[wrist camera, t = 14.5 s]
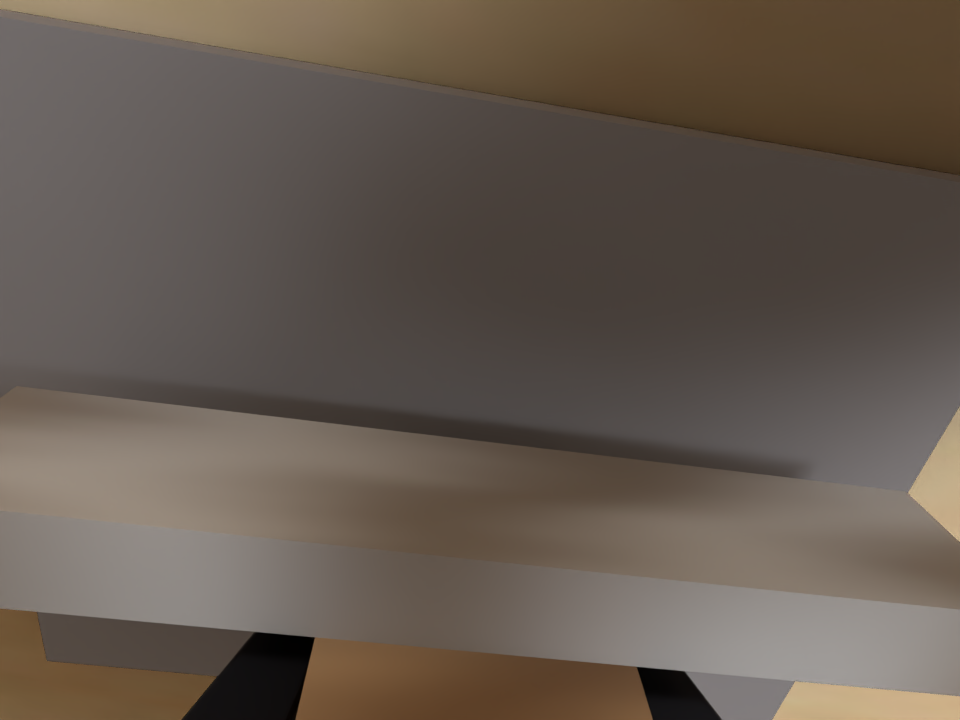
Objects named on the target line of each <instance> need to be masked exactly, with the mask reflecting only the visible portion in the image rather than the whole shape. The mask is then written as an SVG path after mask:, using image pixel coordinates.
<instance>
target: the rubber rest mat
mask: <svg viewBox="0 0 960 720" xmlns="http://www.w3.org/2000/svg"><path fill="white" fill-rule="evenodd" d="M16 386H21V387H29V388H37V389H46V390H54V391H63V392H71V393H80V394H88V395H96V396H105V397H113V398H122V399H130V400H139V401H147V402H155V403H164V404H172V405H181V406H189V407H198V408H206V409H215V410H223V411H231V412H240V413H248V414H257V415H265V416H274V417H282V418H290V419H299V420H307V421H316V422H324V423H333V424H341V425H349V426H358V427H366V428H375V429H383V430H392V431H400V432H409V433H417V434H425V435H434V436H442V437H451V438H459V439H468V440H476V441H484V442H493V443H501V444H510V445H518V446H527V447H535V448H543V449H552V450H560V451H569V452H577V453H586V454H594V455H603V456H611V457H619V458H628V459H636V460H645V461H653V462H662V463H670V464H678V465H687V466H695V467H704V468H712V469H721V470H729V471H737V472H746V473H754V474H763V475H771V476H780V477H788V478H796V479H805V480H813V481H822V482H830V483H839V484H847V485H856V486H864V487H872V488H881V489H889V490H898V491H906V492H907V493H908V492H909V490H910V488H911V487H912V485H913V483H914V481H915V480H916V478H917V476H918V475H919V473H920V471H921V470H922V468H923V466H924V465H925V463H926V461H927V460H928V458H929V456H930V455H931V453H932V451H933V450H934V448H935V446H936V445H937V443H938V441H939V440H940V438H941V436H942V435H943V433H944V431H945V430H946V428H947V426H948V425H949V423H950V421H951V420H952V418H953V416H954V415H955V413H956V411H957V410H958V408H959V406H960V175H954V174H949V173H943V172H937V171H931V170H926V169H920V168H914V167H908V166H902V165H897V164H891V163H885V162H879V161H874V160H868V159H862V158H856V157H851V156H845V155H839V154H833V153H827V152H822V151H816V150H810V149H804V148H799V147H793V146H787V145H781V144H775V143H770V142H764V141H758V140H752V139H747V138H741V137H735V136H729V135H724V134H718V133H712V132H706V131H700V130H695V129H689V128H683V127H677V126H672V125H666V124H660V123H654V122H649V121H643V120H637V119H631V118H625V117H620V116H614V115H608V114H602V113H597V112H591V111H585V110H579V109H573V108H568V107H562V106H556V105H550V104H545V103H539V102H533V101H527V100H522V99H516V98H510V97H504V96H498V95H493V94H487V93H481V92H475V91H470V90H464V89H458V88H452V87H447V86H441V85H435V84H429V83H423V82H418V81H412V80H406V79H400V78H395V77H389V76H383V75H377V74H371V73H366V72H360V71H354V70H348V69H343V68H337V67H331V66H325V65H320V64H314V63H308V62H302V61H296V60H291V59H285V58H279V57H273V56H268V55H262V54H256V53H250V52H245V51H239V50H233V49H227V48H221V47H216V46H210V45H204V44H198V43H193V42H187V41H181V40H175V39H169V38H164V37H158V36H152V35H146V34H141V33H135V32H129V31H123V30H118V29H112V28H106V27H100V26H94V25H89V24H83V23H77V22H71V21H66V20H60V19H54V18H48V17H43V16H37V15H31V14H25V13H19V12H14V11H8V10H2V9H0V398H1V397H2V396H4V395H5V394H6V393H8V392H9V391H10V390H12V389H13V388H15V387H16ZM37 615H38V620H39V625H40V630H41V635H42V640H43V644H44V649H45V654H46V659H47V661H53V662H64V663H75V664H86V665H97V666H108V667H119V668H130V669H142V670H153V671H164V672H175V673H186V674H197V675H208V676H218V675H219V674H220V673H221V672H222V670H223V669H224V668H225V667H226V665H227V664H228V663H229V662H230V661H231V659H232V658H233V657H234V656H235V655H236V653H237V652H238V651H239V650H240V648H241V647H242V646H243V645H244V644H245V642H246V641H247V640H248V639H249V638H250V636H251V635H252V634H253V633H254V632H252V631H241V630H230V629H219V628H208V627H197V626H186V625H175V624H164V623H154V622H143V621H132V620H121V619H110V618H99V617H88V616H77V615H66V614H55V613H44V612H37ZM685 672H686V673H687V675H688V676H689V677H690V678H691V680H692V681H693V682H694V684H695V685H696V686H697V688H698V689H699V690H700V691H701V693H702V694H703V695H704V697H705V698H706V699H707V701H708V702H709V703H710V704H711V706H712V707H713V708H714V710H715V711H716V712H717V714H718V715H719V716H720V718H721V719H722V720H772V719H773V717H774V716H775V714H776V712H777V711H778V709H779V707H780V706H781V704H782V702H783V701H784V699H785V697H786V696H787V694H788V692H789V691H790V689H791V687H792V685H793V684H794V682H795V681H788V680H777V679H766V678H755V677H744V676H733V675H722V674H711V673H700V672H689V671H685Z"/></svg>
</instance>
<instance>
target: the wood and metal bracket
mask: <svg viewBox="0 0 960 720" xmlns="http://www.w3.org/2000/svg"><path fill="white" fill-rule="evenodd" d="M0 608H1V609H11V610H22V611H33V612H44V613H55V614H66V615H77V616H88V617H99V618H110V619H121V620H132V621H143V622H154V623H164V624H175V625H186V626H197V627H208V628H219V629H230V630H241V631H252V632H263V633H274V634H285V635H296V636H307V637H315V640H314V644H313V648H312V652H311V657H310V661H309V665H308V669H307V673H306V677H305V682H304V686H303V690H302V694H301V698H300V702H299V707H298V711H297V715H296V719H295V720H653V719H652V715H651V712H650V709H649V706H648V702H647V699H646V696H645V693H644V689H643V686H642V683H641V679H640V676H639V673H638V670H637V667H646V668H656V669H667V670H678V671H689V672H700V673H711V674H722V675H733V676H744V677H755V678H766V679H777V680H788V681H799V682H809V683H820V684H831V685H842V686H853V687H864V688H875V689H886V690H897V691H908V692H919V693H930V694H941V695H952V696H960V542H959V541H958V540H957V539H956V538H955V537H953V536H952V535H951V534H950V533H949V532H948V531H947V530H946V529H945V528H944V527H943V526H942V525H941V524H940V523H939V522H938V521H936V520H935V519H934V518H933V517H932V516H931V515H930V514H929V513H928V512H927V511H926V510H925V509H924V508H923V507H922V506H921V505H920V504H918V503H917V502H916V501H915V500H914V499H913V498H912V497H911V496H910V495H909V494H908V493H907V492H906V491H898V490H889V489H881V488H872V487H864V486H856V485H847V484H839V483H830V482H822V481H813V480H805V479H796V478H788V477H780V476H771V475H763V474H754V473H746V472H737V471H729V470H721V469H712V468H704V467H695V466H687V465H678V464H670V463H662V462H653V461H645V460H636V459H628V458H619V457H611V456H603V455H594V454H586V453H577V452H569V451H560V450H552V449H543V448H535V447H527V446H518V445H510V444H501V443H493V442H484V441H476V440H468V439H459V438H451V437H442V436H434V435H425V434H417V433H409V432H400V431H392V430H383V429H375V428H366V427H358V426H349V425H341V424H333V423H324V422H316V421H307V420H299V419H290V418H282V417H274V416H265V415H257V414H248V413H240V412H231V411H223V410H215V409H206V408H198V407H189V406H181V405H172V404H164V403H155V402H147V401H139V400H130V399H122V398H113V397H105V396H96V395H88V394H80V393H71V392H63V391H54V390H46V389H37V388H29V387H21V386H16V387H15V388H13V389H12V390H10V391H9V392H8V393H6V394H5V395H4V396H2V397H1V398H0Z"/></svg>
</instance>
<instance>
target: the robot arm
mask: <svg viewBox="0 0 960 720" xmlns="http://www.w3.org/2000/svg"><path fill="white" fill-rule="evenodd" d="M314 640H315V637H307V636H296V635H285V634H274V633H263V632H254V633H253V634H252V635H251V636H250V638H249V639H248V640H247V641H246V642H245V644H244V645H243V646H242V647H241V648H240V650H239V651H238V652H237V653H236V655H235V656H234V657H233V658H232V659H231V661H230V662H229V663H228V664H227V665H226V667H225V668H224V669H223V670H222V672H221V673H220V674H219V675H218V676H217V678H216V679H215V680H214V681H213V682H212V684H211V685H210V686H209V687H208V688H207V690H206V691H205V692H204V693H203V695H202V696H201V697H200V698H199V699H198V701H197V702H196V703H195V704H194V705H193V707H192V708H191V709H190V710H189V711H188V713H187V714H186V715H185V716H184V718H183V719H182V720H295V719H296V715H297V711H298V707H299V702H300V698H301V694H302V690H303V686H304V682H305V677H306V673H307V669H308V665H309V661H310V657H311V652H312V648H313V644H314ZM637 670H638V673H639V676H640V679H641V683H642V686H643V689H644V693H645V696H646V699H647V702H648V706H649V709H650V712H651V715H652V719H653V720H722V719H721V718H720V716H719V715H718V714H717V712H716V711H715V710H714V708H713V707H712V706H711V704H710V703H709V702H708V701H707V699H706V698H705V697H704V695H703V694H702V693H701V691H700V690H699V689H698V688H697V686H696V685H695V684H694V682H693V681H692V680H691V678H690V677H689V676H688V675H687V673H686V672H685V671H678V670H667V669H656V668H646V667H637Z"/></svg>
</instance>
